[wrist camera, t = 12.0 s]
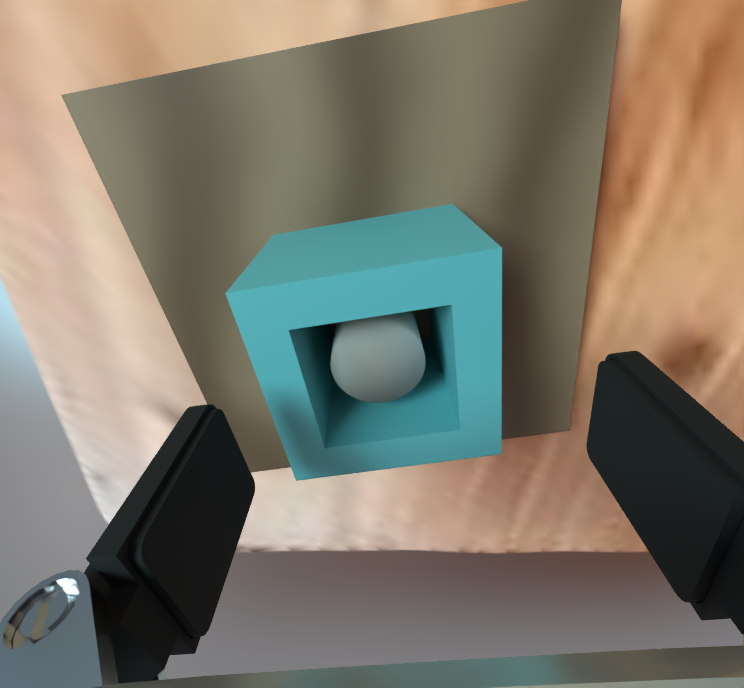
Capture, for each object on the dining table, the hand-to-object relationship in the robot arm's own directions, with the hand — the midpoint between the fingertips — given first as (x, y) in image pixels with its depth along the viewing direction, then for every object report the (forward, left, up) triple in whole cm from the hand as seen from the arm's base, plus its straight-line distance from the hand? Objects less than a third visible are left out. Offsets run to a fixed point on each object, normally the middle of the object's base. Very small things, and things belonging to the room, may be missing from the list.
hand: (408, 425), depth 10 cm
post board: (+1, 0, -9) cm, 9 cm away
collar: (+1, 0, -8) cm, 8 cm away
